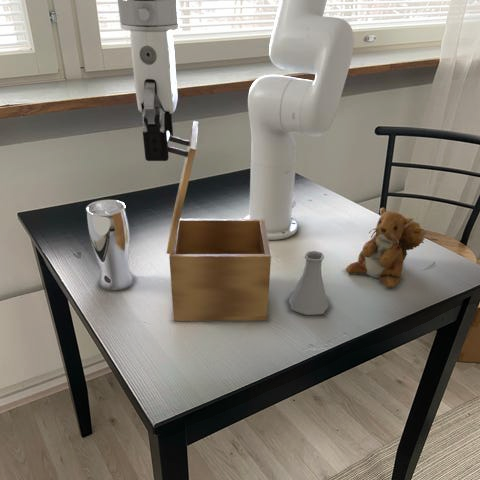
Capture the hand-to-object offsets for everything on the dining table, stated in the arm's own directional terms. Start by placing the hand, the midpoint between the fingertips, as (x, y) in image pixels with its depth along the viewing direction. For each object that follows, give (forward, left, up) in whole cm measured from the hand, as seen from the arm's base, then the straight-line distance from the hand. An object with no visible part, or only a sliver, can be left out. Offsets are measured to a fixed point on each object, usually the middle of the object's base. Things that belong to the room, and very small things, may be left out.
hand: (160, 148), depth 74 cm
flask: (-11, +22, -27) cm, 36 cm away
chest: (-4, +8, -27) cm, 28 cm away
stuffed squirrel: (-30, +30, -27) cm, 50 cm away
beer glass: (+1, -12, -27) cm, 29 cm away
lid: (-2, +3, -6) cm, 7 cm away
